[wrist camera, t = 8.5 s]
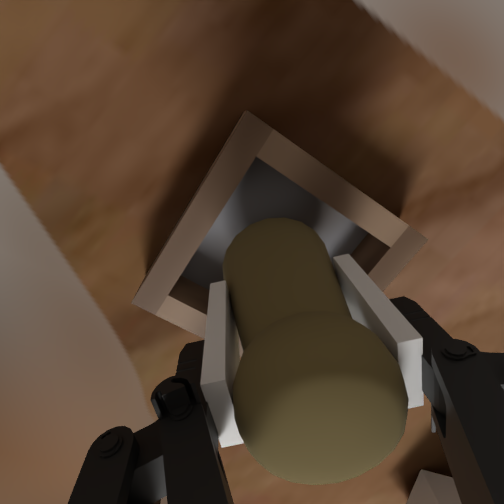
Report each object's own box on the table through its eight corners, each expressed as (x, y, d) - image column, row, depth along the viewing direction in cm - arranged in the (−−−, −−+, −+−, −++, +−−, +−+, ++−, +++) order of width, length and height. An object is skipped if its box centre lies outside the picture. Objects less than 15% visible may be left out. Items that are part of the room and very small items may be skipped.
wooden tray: (399, 221, 22) (428, 239, 19) (291, 351, 25) (301, 386, 22) (243, 111, 19) (247, 110, 16) (145, 275, 22) (131, 303, 19)
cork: (275, 193, 17) (343, 304, 7) (351, 264, 19) (491, 431, 9) (199, 274, 19) (167, 461, 9) (277, 332, 21) (326, 544, 10)
